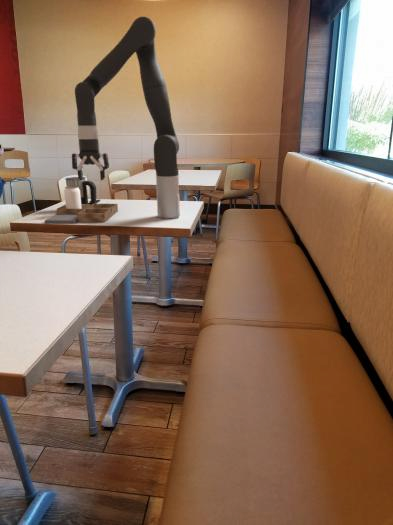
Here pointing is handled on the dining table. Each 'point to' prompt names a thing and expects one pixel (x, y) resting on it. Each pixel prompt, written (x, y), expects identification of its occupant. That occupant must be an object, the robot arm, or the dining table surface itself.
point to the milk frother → (83, 189)
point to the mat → (62, 218)
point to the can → (72, 197)
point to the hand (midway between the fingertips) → (91, 179)
